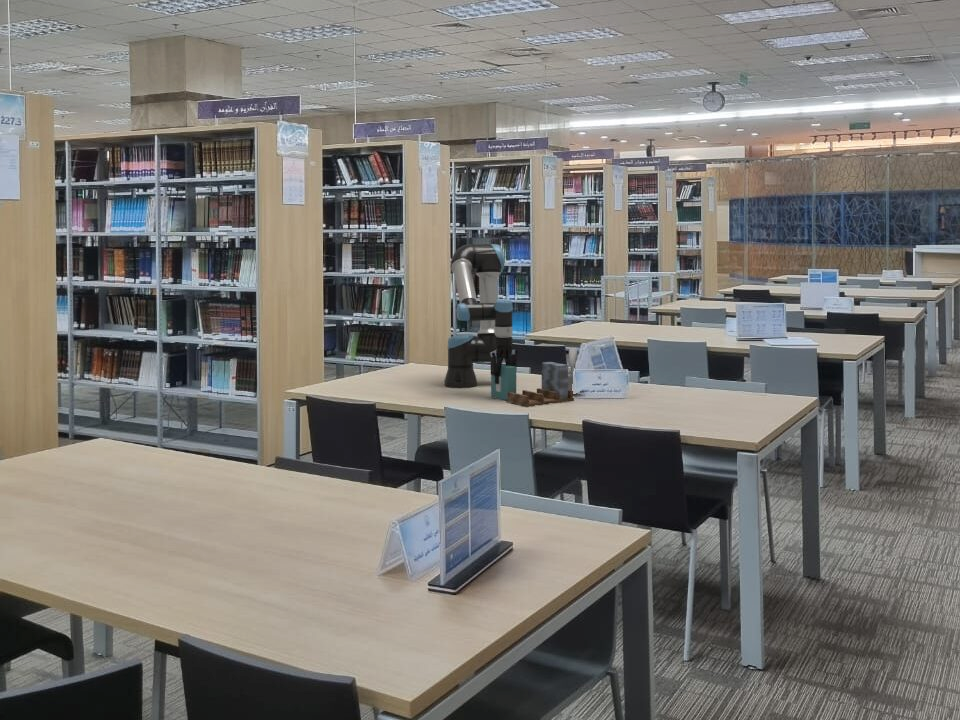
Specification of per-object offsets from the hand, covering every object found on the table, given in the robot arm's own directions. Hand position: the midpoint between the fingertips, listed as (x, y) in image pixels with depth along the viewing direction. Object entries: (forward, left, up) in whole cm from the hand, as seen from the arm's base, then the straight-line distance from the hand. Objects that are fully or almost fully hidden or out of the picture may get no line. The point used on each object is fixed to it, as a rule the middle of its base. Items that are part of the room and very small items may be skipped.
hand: (503, 390), depth 417 cm
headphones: (+8, +32, -3) cm, 33 cm away
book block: (0, 0, -3) cm, 3 cm away
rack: (+15, +8, -3) cm, 17 cm away
